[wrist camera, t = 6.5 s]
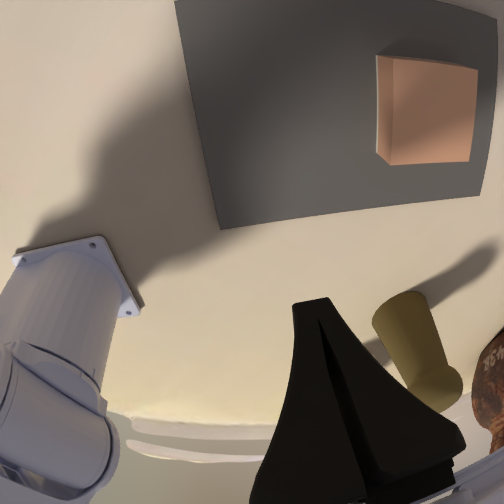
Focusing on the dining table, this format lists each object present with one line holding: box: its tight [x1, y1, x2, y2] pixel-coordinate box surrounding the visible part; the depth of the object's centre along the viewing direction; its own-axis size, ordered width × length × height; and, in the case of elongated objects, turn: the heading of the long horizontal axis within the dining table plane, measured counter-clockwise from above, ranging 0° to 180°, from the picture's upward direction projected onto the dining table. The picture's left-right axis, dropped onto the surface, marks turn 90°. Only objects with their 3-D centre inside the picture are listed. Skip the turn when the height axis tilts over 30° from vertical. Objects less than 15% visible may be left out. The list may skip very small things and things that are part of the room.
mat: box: [174, 0, 498, 230], centre depth 16 cm, size 20×14×1 cm
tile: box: [376, 55, 478, 166], centre depth 15 cm, size 2×6×6 cm
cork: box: [372, 291, 463, 413], centre depth 24 cm, size 6×6×11 cm
